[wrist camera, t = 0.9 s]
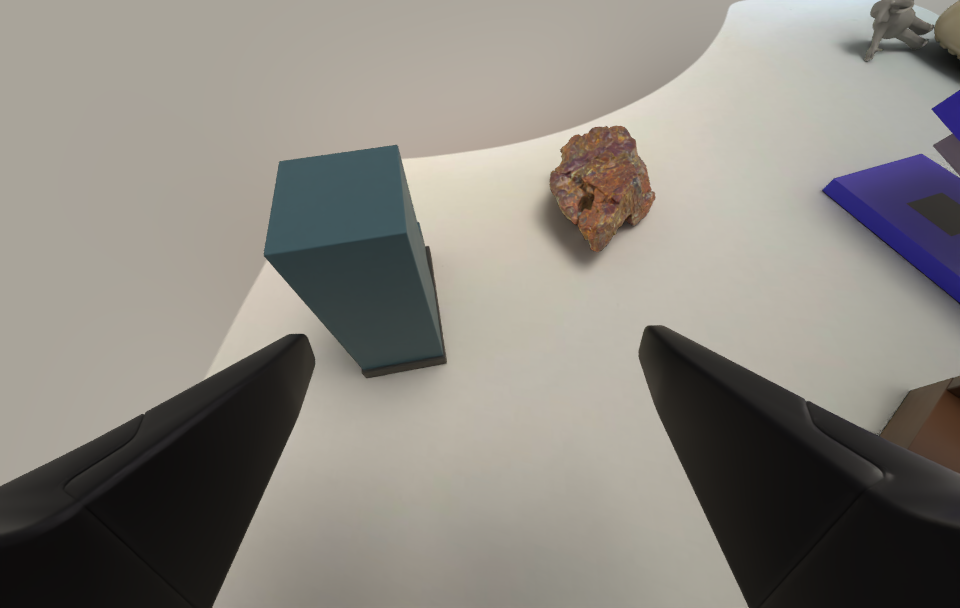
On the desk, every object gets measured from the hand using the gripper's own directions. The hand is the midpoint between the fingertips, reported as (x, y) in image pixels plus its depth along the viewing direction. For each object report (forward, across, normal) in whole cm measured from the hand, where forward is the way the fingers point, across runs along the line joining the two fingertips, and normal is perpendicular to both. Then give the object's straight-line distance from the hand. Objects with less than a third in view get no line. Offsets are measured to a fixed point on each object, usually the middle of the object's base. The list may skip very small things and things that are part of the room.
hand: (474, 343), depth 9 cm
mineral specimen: (+24, -10, +4) cm, 27 cm away
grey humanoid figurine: (+49, -51, -9) cm, 71 cm away
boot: (+15, +6, +8) cm, 18 cm away
